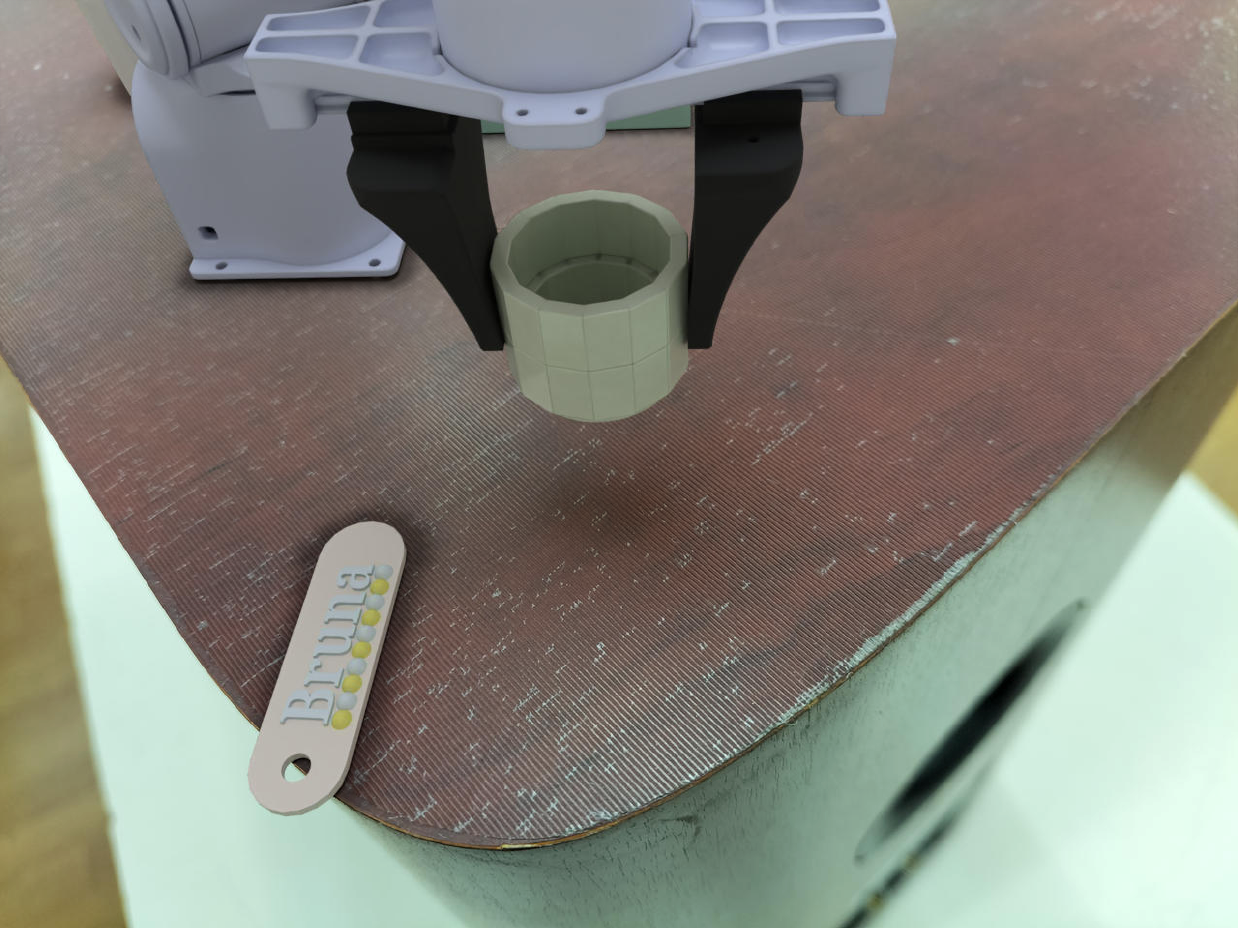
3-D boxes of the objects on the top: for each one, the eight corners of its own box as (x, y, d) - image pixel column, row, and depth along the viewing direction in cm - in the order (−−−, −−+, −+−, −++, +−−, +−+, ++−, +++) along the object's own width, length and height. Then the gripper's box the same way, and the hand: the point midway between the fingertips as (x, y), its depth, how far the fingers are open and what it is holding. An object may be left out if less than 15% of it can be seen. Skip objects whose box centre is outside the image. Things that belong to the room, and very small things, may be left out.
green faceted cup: (503, 433, 30) (478, 318, 26) (522, 307, 33) (503, 190, 30) (688, 433, 29) (688, 316, 26) (688, 305, 33) (688, 186, 29)
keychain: (328, 811, 29) (229, 805, 29) (335, 818, 29) (237, 813, 30) (411, 516, 35) (329, 515, 36) (415, 527, 36) (334, 525, 36)
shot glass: (206, 115, 55) (153, -14, 49) (93, 108, 56) (29, -20, 51) (259, 51, 59) (216, -75, 54) (153, 45, 60) (101, -78, 55)
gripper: (104, -96, 17) (324, 428, 28) (964, -132, 16) (858, 426, 27) (224, -232, 22) (375, 263, 32) (905, -267, 21) (834, 256, 31)
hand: (595, 327), depth 30 cm, fingers closed on green faceted cup, 5 cm apart
